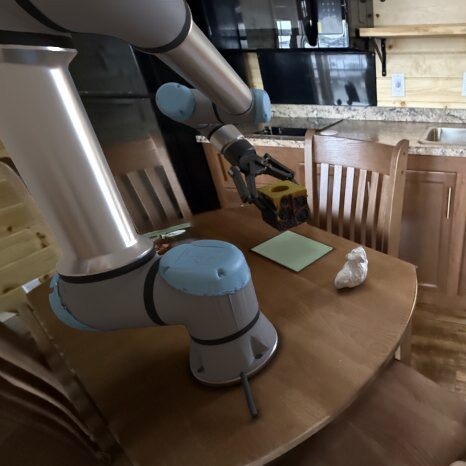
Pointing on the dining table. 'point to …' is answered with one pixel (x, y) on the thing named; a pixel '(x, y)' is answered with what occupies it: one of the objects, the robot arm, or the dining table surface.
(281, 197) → the yellow and black cube
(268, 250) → the napkin
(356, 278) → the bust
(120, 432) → the dining table surface
